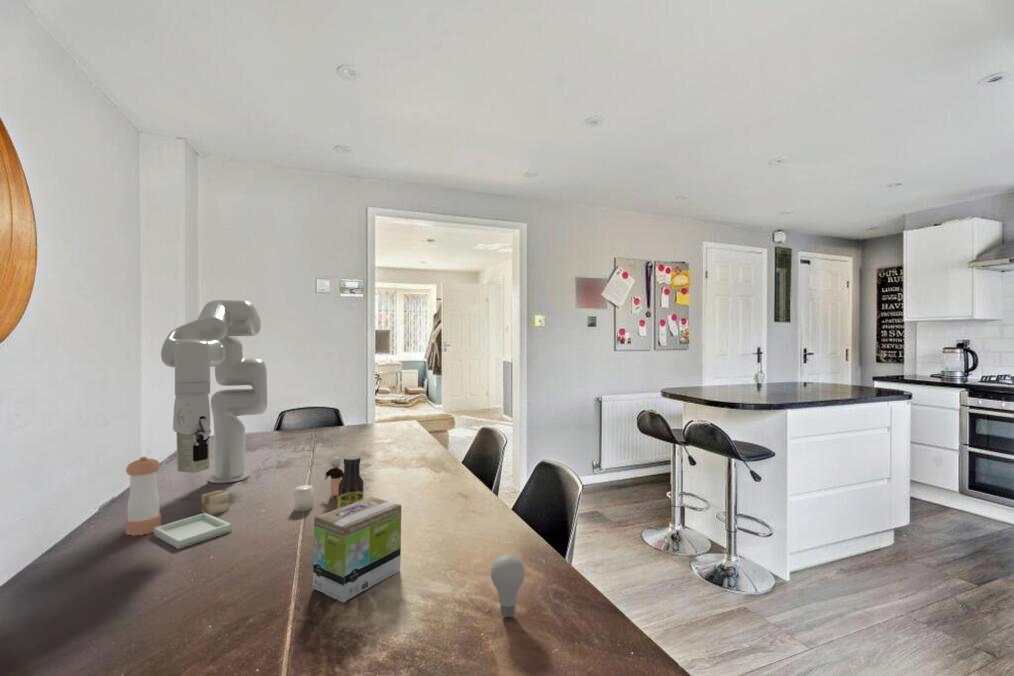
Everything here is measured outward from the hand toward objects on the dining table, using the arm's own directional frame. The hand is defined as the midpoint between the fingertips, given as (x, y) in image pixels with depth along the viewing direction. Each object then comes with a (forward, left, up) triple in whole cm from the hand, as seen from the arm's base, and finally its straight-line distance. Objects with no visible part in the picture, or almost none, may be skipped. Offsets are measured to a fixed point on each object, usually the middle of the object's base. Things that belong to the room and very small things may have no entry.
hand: (193, 457), depth 119 cm
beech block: (-12, +11, -20) cm, 25 cm away
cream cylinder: (+8, +26, -20) cm, 33 cm away
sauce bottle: (+35, +21, -20) cm, 45 cm away
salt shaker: (-13, -6, -20) cm, 24 cm away
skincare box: (0, 0, -4) cm, 4 cm away
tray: (0, 0, -20) cm, 20 cm away
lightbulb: (+87, +14, -20) cm, 90 cm away
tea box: (+54, +8, -20) cm, 58 cm away
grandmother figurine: (+8, +37, -20) cm, 43 cm away
